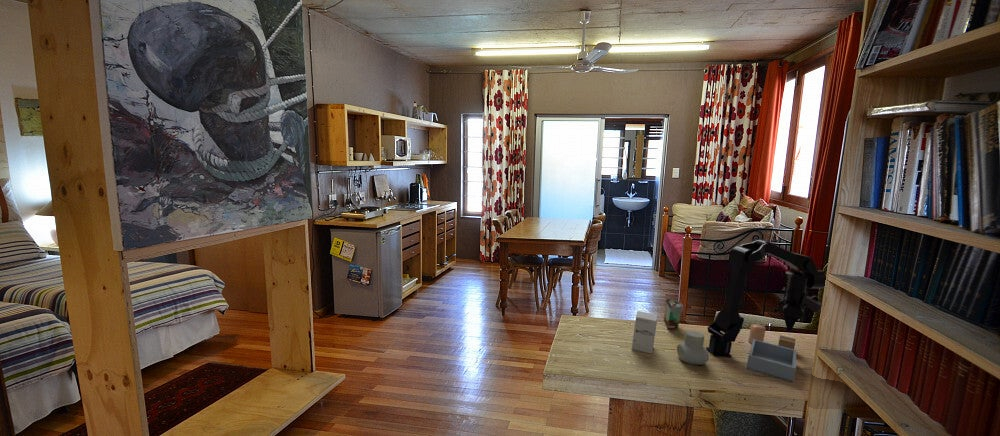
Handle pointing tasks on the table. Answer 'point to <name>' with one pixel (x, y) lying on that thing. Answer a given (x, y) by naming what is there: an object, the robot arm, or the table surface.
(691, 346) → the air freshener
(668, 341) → the table surface
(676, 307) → the food container
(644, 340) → the supplement box
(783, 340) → the walnut cube
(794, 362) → the tote
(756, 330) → the terracotta capsule
